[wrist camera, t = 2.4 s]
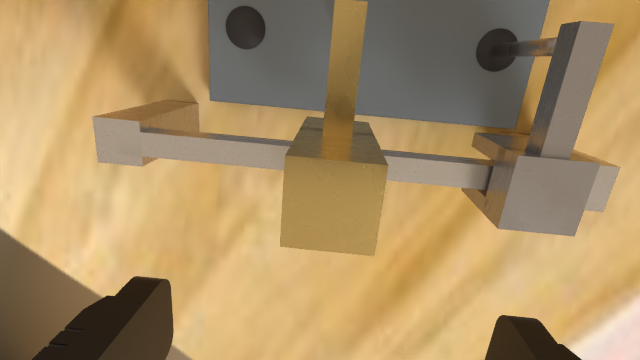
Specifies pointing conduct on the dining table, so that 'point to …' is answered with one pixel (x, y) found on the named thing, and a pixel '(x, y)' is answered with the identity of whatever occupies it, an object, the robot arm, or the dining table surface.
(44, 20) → the dining table surface
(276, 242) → the dining table surface
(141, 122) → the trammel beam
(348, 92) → the slide head
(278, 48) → the flange plate
